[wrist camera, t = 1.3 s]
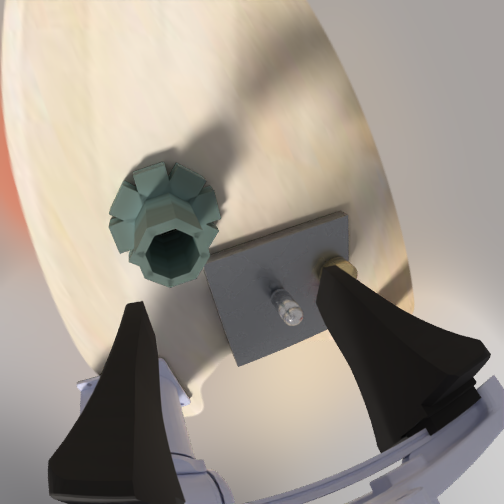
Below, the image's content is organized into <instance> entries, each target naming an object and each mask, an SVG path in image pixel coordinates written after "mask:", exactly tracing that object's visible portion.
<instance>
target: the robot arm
mask: <svg viewBox="0 0 504 504" xmlns="http://www.w3.org/2000/svg"><path fill="white" fill-rule="evenodd" d="M316 304H317V307H318V309H319V312H320V314H321V317H322V319H323V321H324V323H325V325H326V327H327V328H328V330H329V332H330V334H331V335H332V337H333V339H334V340H335V342H336V344H337V346H338V347H339V349H340V351H341V352H342V354H343V356H344V357H345V359H346V361H347V362H348V364H349V366H350V368H351V370H352V373H353V375H354V377H355V380H356V382H357V384H358V387H359V389H360V391H361V394H362V397H363V399H364V402H365V405H366V408H367V410H368V414H369V417H370V420H371V423H372V427H373V430H374V434H375V438H376V442H377V446H378V448H379V450H380V452H381V454H379V455H377V456H375V457H373V458H371V459H369V460H367V461H365V462H363V463H360V464H358V465H356V466H354V467H352V468H349V469H348V470H345V471H342V472H340V473H338V474H335V475H333V476H330V477H328V478H325V479H323V480H320V481H317V482H315V483H312V484H309V485H306V486H303V487H300V488H297V489H294V490H291V491H288V492H285V493H281V494H278V495H274V496H271V497H268V498H263V499H259V500H255V501H251V502H247V503H243V504H303V503H306V502H309V501H312V500H315V499H317V498H320V497H323V496H325V495H328V494H330V493H333V492H335V491H338V490H340V489H342V488H345V487H347V486H349V485H352V484H354V483H356V482H358V481H360V480H362V479H364V478H367V477H369V476H371V475H373V474H375V473H376V472H378V471H380V470H382V469H384V468H386V467H388V466H390V465H391V464H393V463H395V462H397V461H399V460H400V459H402V458H403V460H402V464H401V466H399V467H397V468H396V469H394V470H392V471H390V472H388V473H386V474H385V475H383V476H381V477H379V478H377V479H375V480H373V481H371V482H370V486H371V488H372V490H373V491H372V492H370V493H368V494H366V495H363V496H362V497H359V498H357V499H355V500H352V501H350V502H348V503H346V504H440V503H439V502H438V499H437V497H438V496H439V495H441V494H442V493H443V492H444V491H445V490H446V489H447V488H448V487H449V486H450V485H452V484H453V482H455V481H456V480H457V479H458V478H459V477H460V476H461V475H462V474H463V473H464V472H465V471H466V470H467V469H468V468H469V467H470V466H471V465H472V464H473V463H474V462H475V461H476V460H477V459H478V458H479V457H480V455H481V454H482V453H483V452H484V451H485V450H486V449H487V448H488V446H489V445H490V444H491V443H492V442H493V441H494V439H495V438H496V437H497V436H498V435H499V434H500V432H501V431H502V430H503V429H504V389H503V387H502V386H501V384H500V383H499V381H498V380H497V378H496V377H495V376H492V377H491V378H490V379H488V380H487V381H486V382H485V383H484V384H482V385H481V386H480V387H479V388H478V389H477V390H476V389H475V387H474V385H475V384H476V380H475V379H474V378H473V377H474V376H475V375H476V373H477V372H478V371H479V370H480V369H481V368H482V367H483V366H484V365H485V363H486V362H487V361H488V360H489V358H490V355H491V354H490V353H489V351H488V350H487V348H486V347H485V346H484V344H483V343H482V342H481V341H480V340H478V339H473V338H470V337H466V336H462V335H458V334H455V333H453V332H450V331H447V330H444V329H442V328H439V327H436V326H434V325H432V324H430V323H427V322H425V321H423V320H421V319H419V318H417V317H415V316H413V315H411V314H409V313H407V312H406V311H404V310H402V309H400V308H399V307H397V306H395V305H394V304H392V303H391V302H389V301H387V300H386V299H384V298H383V297H381V296H380V295H378V294H377V293H375V292H374V291H372V290H371V289H369V288H368V287H367V286H365V285H364V284H362V283H361V282H360V281H358V280H357V279H355V278H354V277H352V276H351V275H350V274H348V273H347V272H345V271H344V270H342V269H341V268H340V267H338V266H336V265H333V266H328V267H323V269H322V274H321V279H320V284H319V289H318V294H317V298H316ZM77 388H78V389H79V390H80V391H81V403H80V404H81V405H80V416H79V418H78V420H77V421H76V423H75V424H74V426H73V428H72V429H71V431H70V432H69V434H68V435H67V437H66V438H65V440H64V441H63V442H62V444H61V445H60V446H59V448H58V449H57V450H56V452H55V453H54V454H53V456H52V457H51V458H50V459H49V463H48V483H49V495H50V496H51V497H52V498H53V499H56V500H58V501H61V502H65V503H68V504H235V501H234V497H233V494H232V492H231V489H230V487H229V486H228V484H227V482H226V481H225V479H224V478H223V477H221V476H220V475H219V474H218V473H217V472H216V471H214V470H212V469H206V466H205V464H204V460H202V459H199V460H198V459H196V458H195V455H194V452H193V448H192V445H191V441H190V438H189V434H188V431H187V427H186V424H185V420H184V416H183V412H182V408H181V407H182V406H186V405H188V404H190V399H189V397H188V396H187V394H186V393H185V391H184V390H183V388H182V387H181V385H180V384H179V382H178V381H177V379H176V377H175V376H174V374H173V373H172V371H171V370H170V368H169V366H168V365H167V363H166V361H165V360H164V359H162V358H158V352H157V345H156V339H155V334H154V331H153V328H152V326H151V323H150V320H149V317H148V314H147V312H146V309H145V306H144V303H143V301H141V302H135V303H129V304H127V305H126V307H125V310H124V314H123V317H122V320H121V323H120V327H119V329H118V332H117V335H116V338H115V341H114V344H113V346H112V349H111V352H110V354H109V357H108V359H107V362H106V364H105V366H104V369H103V371H102V374H101V375H100V376H97V377H93V378H90V379H86V380H82V381H78V382H77Z"/></svg>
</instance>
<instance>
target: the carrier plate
mask: <svg viewBox="0 0 504 504" xmlns="http://www.w3.org/2000/svg"><path fill="white" fill-rule="evenodd" d="M333 265H336V266H338V267H340V268H341V269H342V270H344V271H345V272H347V273H348V274H350V275H351V276H352V277H354V278H355V279H357V270H356V268H355V267H354V266H353V265H352V264H350V263H349V262H348V215H347V214H345V213H344V212H342V211H339V212H336V213H333V214H330V215H327V216H324V217H321V218H318V219H315V220H312V221H309V222H306V223H303V224H300V225H297V226H294V227H291V228H288V229H285V230H282V231H279V232H276V233H273V234H270V235H267V236H264V237H261V238H258V239H255V240H252V241H249V242H246V243H244V244H241V245H238V246H235V247H232V248H229V249H226V250H223V251H220V252H217V253H214V254H211V255H210V257H209V259H208V260H207V262H206V264H205V265H204V267H203V269H204V272H205V275H206V278H207V281H208V284H209V287H210V290H211V293H212V296H213V299H214V302H215V305H216V308H217V311H218V314H219V317H220V319H221V322H222V325H223V328H224V331H225V334H226V337H227V339H228V342H229V345H230V348H231V350H232V353H233V356H234V358H235V361H236V363H237V366H238V367H239V366H242V365H244V364H247V363H250V362H252V361H255V360H257V359H260V358H262V357H265V356H267V355H270V354H272V353H275V352H277V351H280V350H282V349H284V348H287V347H289V346H291V345H294V344H296V343H298V342H301V341H303V340H305V339H307V338H309V337H312V336H314V335H316V334H318V333H320V332H323V331H325V330H327V329H328V328H327V327H326V325H325V323H324V321H323V319H322V317H321V314H320V312H319V309H318V307H317V304H316V298H317V294H318V289H319V284H320V279H321V274H322V269H323V267H328V266H333Z"/></svg>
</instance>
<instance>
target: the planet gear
mask: <svg viewBox="0 0 504 504" xmlns="http://www.w3.org/2000/svg"><path fill="white" fill-rule="evenodd" d="M133 178H134V181H135V184H136V186H134V185H132V184H130V183H128V182H126V181H123V183H122V185H121V187H120V189H119V191H118V193H117V195H116V197H115V199H114V201H113V204H112V206H111V208H110V212H109V214H110V215H112V216H114V217H116V218H114V219H111V220H110V223H109V229H110V231H111V234H112V236H113V239H114V241H115V243H116V246H117V248H118V250H119V253H120V254H121V253H123V252H126V251H129V250H130V252H129V262H130V263H133V264H135V265H138V266H140V269H141V271H142V273H143V275H144V278H145V279H148V280H150V281H153V282H156V283H159V284H161V285H164V286H167V287H170V288H171V287H174V286H177V285H180V284H183V283H185V282H188V281H191V280H194V279H197V277H198V275H199V274H200V272H201V270H202V269H203V267H204V265H205V264H206V262H207V260H208V259H209V257H210V253H209V249H208V248H209V247H210V245H211V243H212V242H213V240H214V238H215V237H216V235H217V233H218V232H219V230H218V228H217V227H216V225H215V224H214V223H212V222H213V221H216V220H220V219H221V217H220V213H219V209H218V204H217V200H216V196H215V192H214V190H213V189H212V188H211V186H208V187H205V188H203V186H204V184H205V183H206V180H205V179H204V177H203V176H201V175H199V174H197V173H195V172H193V171H191V170H190V169H188V168H186V167H184V166H182V165H180V164H178V163H176V164H175V166H174V168H173V169H172V171H171V173H170V175H169V176H168V175H167V171H166V167H165V164H164V162H161V163H158V164H155V165H152V166H149V167H146V168H143V169H140V170H137V171H134V172H133ZM173 229H177V230H176V231H173V232H170V233H167V234H164V235H160V234H162V233H164V232H167V231H170V230H173Z"/></svg>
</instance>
